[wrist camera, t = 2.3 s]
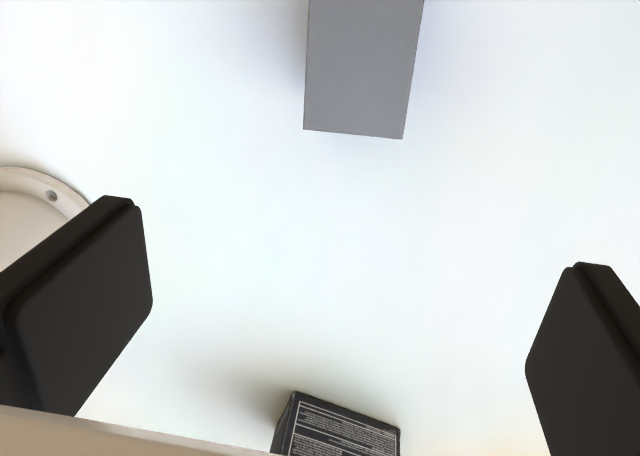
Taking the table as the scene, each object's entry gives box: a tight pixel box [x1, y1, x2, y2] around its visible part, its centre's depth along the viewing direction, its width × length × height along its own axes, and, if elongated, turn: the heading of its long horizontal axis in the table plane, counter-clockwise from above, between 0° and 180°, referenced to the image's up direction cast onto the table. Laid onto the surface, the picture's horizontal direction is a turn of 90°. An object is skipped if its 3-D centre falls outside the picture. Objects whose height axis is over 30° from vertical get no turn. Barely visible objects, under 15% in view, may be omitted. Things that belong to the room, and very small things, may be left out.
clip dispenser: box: [303, 0, 424, 139], centre depth 24 cm, size 5×8×6 cm, turn 176°
